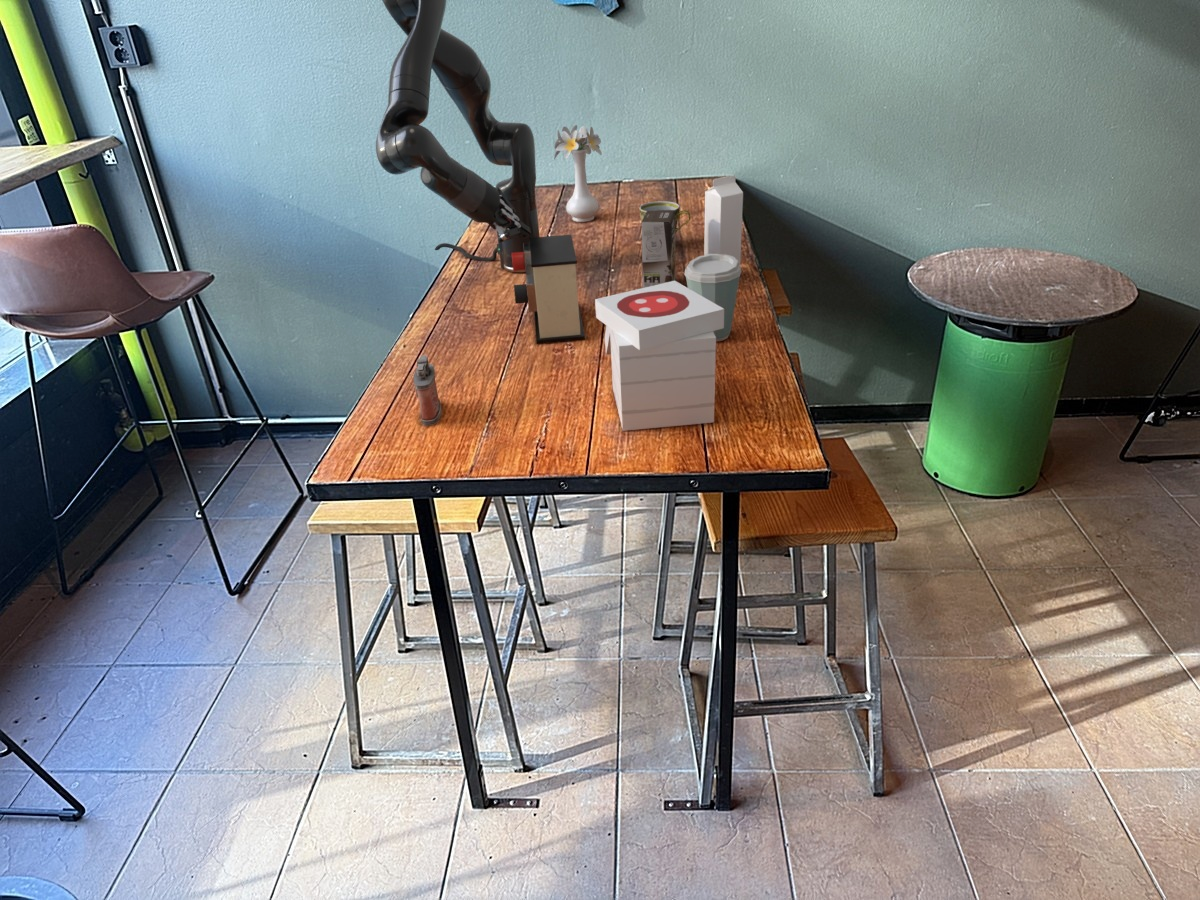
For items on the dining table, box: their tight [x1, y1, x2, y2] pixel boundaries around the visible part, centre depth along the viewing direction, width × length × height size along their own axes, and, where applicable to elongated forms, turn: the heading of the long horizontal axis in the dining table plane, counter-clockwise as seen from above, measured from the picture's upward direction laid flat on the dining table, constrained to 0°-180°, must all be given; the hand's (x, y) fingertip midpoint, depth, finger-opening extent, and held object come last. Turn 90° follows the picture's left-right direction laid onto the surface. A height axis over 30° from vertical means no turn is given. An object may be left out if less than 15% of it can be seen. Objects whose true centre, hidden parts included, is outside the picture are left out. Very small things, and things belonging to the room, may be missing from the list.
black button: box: [513, 283, 528, 305], centre depth 161 cm, size 2×4×4 cm, turn 6°
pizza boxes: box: [594, 280, 724, 432], centre depth 139 cm, size 19×30×18 cm, turn 5°
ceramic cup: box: [639, 200, 692, 235], centre depth 206 cm, size 13×10×10 cm
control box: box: [523, 234, 586, 345], centre depth 166 cm, size 10×18×16 cm, turn 6°
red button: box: [512, 252, 525, 271], centre depth 167 cm, size 2×4×4 cm, turn 6°
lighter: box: [412, 354, 442, 426], centre depth 138 cm, size 8×3×10 cm, turn 5°
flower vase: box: [553, 124, 603, 223], centre depth 227 cm, size 13×18×25 cm
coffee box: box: [641, 210, 676, 288], centre depth 181 cm, size 9×6×16 cm
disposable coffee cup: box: [683, 254, 743, 343], centre depth 158 cm, size 11×11×15 cm
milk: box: [703, 174, 744, 266], centre depth 184 cm, size 6×6×22 cm
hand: (527, 233), depth 171 cm, fingers closed
